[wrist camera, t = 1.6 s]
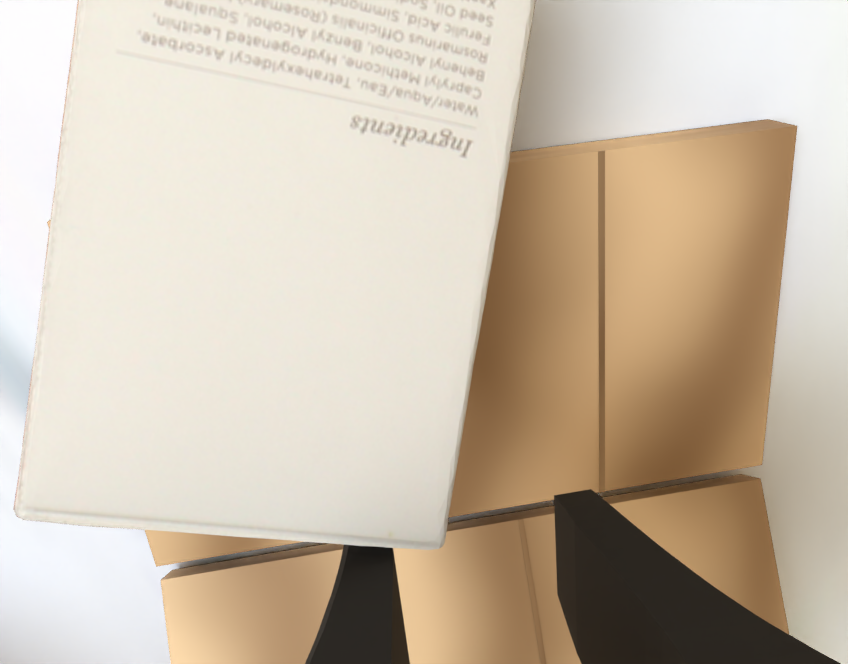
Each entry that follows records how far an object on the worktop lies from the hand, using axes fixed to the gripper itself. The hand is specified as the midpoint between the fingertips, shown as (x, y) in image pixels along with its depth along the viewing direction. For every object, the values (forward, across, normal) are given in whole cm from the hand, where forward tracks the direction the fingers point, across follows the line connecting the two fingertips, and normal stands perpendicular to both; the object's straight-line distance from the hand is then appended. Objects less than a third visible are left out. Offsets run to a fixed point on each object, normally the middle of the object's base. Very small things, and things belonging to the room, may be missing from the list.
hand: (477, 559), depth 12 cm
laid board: (+9, -1, 0) cm, 9 cm away
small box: (+6, 0, -11) cm, 12 cm away
